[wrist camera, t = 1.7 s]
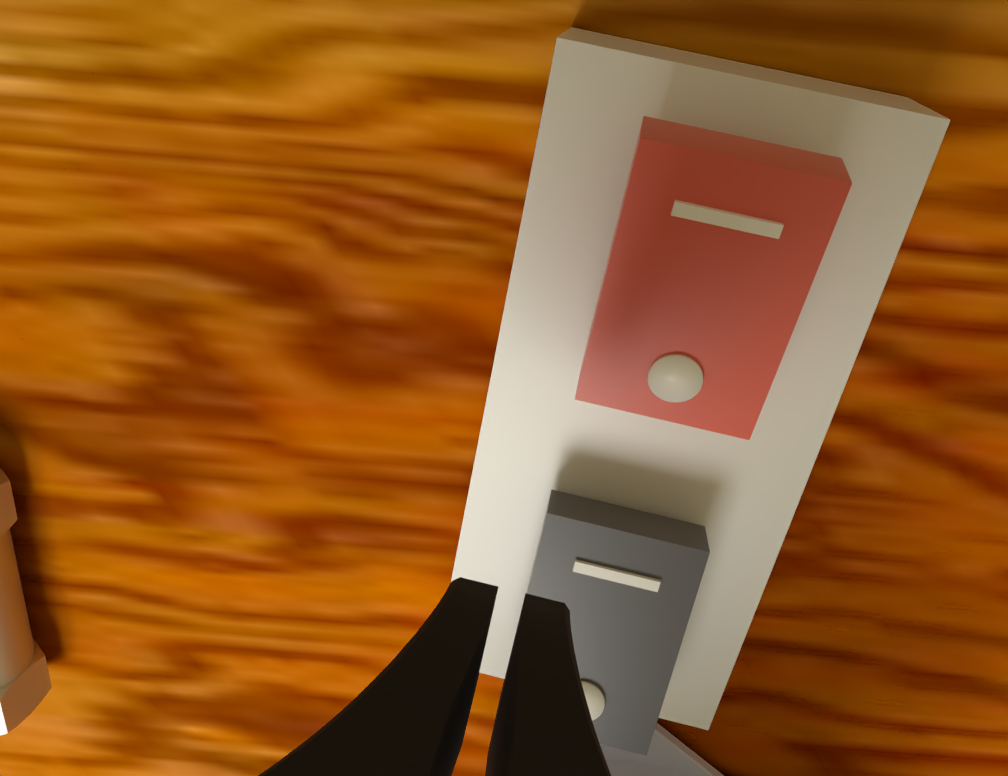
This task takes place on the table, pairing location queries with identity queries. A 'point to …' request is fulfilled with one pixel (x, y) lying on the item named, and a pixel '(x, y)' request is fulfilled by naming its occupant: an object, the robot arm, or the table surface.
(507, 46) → the table surface
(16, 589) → the pipe fitting
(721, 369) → the red rocker
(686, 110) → the rocker switch panel
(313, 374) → the table surface
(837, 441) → the table surface
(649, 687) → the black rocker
